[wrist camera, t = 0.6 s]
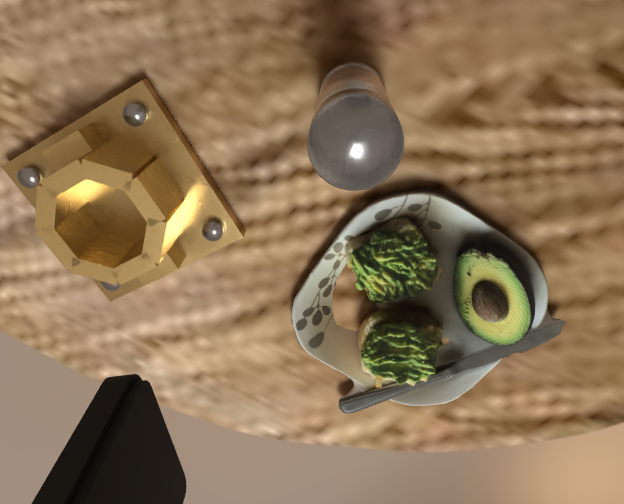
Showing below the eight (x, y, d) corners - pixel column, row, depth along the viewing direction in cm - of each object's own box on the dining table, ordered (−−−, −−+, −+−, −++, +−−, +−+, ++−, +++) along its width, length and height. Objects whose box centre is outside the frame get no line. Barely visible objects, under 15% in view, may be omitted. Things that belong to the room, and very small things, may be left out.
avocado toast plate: (415, 439, 46) (422, 483, 42) (245, 340, 42) (235, 377, 38) (585, 289, 38) (614, 325, 34) (397, 151, 35) (405, 172, 30)
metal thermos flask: (367, 48, 31) (378, 77, 21) (395, 108, 33) (419, 165, 22) (307, 81, 33) (289, 124, 22) (337, 138, 34) (334, 205, 23)
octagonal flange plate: (147, 77, 33) (116, 91, 28) (245, 231, 37) (232, 263, 33) (9, 162, 36) (-38, 186, 32) (115, 294, 40) (87, 332, 36)
